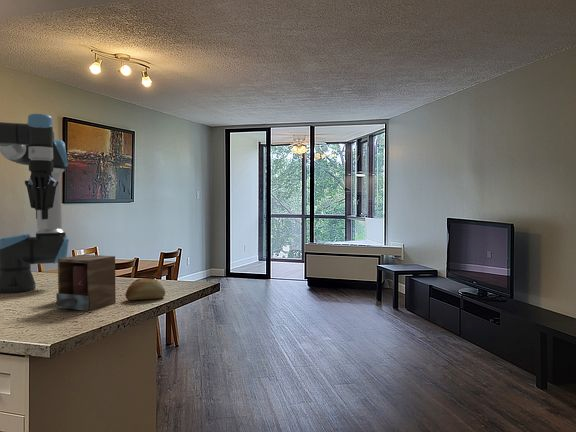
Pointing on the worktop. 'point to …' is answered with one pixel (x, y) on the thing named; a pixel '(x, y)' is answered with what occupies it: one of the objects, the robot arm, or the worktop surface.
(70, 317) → the worktop surface
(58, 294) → the tray
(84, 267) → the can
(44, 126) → the robot arm
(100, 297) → the box
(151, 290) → the bread roll
